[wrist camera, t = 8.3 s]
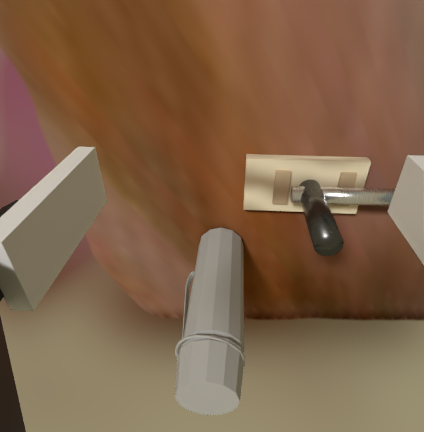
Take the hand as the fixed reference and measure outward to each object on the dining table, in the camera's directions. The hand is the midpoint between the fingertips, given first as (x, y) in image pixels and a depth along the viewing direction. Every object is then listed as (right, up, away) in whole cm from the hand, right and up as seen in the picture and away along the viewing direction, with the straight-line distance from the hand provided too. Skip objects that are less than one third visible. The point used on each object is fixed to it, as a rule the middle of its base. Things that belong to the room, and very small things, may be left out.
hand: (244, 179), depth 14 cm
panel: (+11, +3, +31) cm, 34 cm away
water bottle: (-1, -6, +39) cm, 40 cm away
